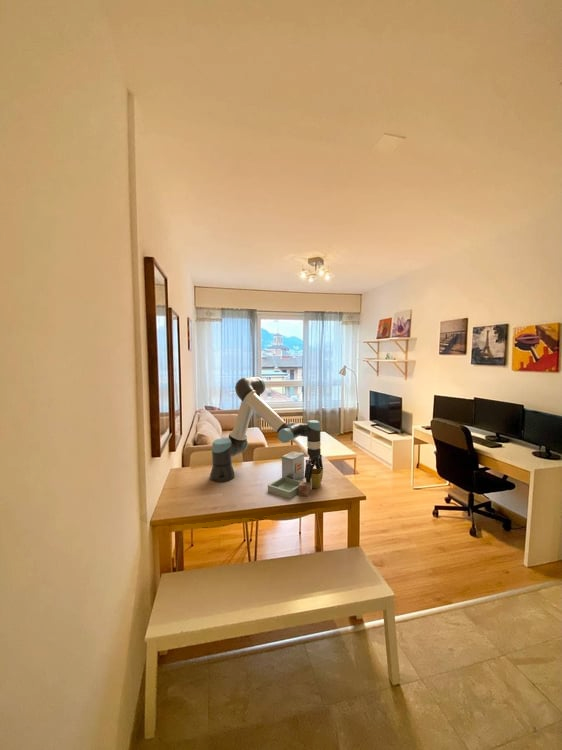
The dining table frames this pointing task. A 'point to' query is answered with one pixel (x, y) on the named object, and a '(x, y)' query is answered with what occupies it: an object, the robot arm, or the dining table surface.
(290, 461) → the box
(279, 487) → the tray
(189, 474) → the dining table surface
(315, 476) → the flower pot
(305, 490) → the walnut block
